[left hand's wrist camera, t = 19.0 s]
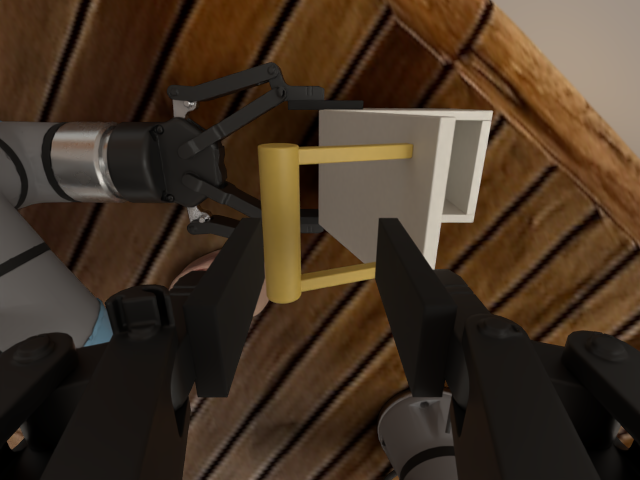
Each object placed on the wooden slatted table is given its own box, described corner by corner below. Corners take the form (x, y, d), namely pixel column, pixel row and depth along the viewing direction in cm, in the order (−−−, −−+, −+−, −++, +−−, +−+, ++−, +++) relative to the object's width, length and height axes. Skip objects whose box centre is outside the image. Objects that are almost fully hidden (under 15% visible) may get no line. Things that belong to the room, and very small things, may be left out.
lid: (456, 116, 15) (267, 119, 12) (429, 306, 19) (278, 341, 16) (328, 109, 28) (221, 110, 26) (327, 223, 32) (233, 234, 29)
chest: (451, 108, 38) (493, 110, 29) (439, 196, 41) (473, 222, 32) (323, 107, 38) (323, 109, 29) (322, 195, 41) (322, 221, 32)
